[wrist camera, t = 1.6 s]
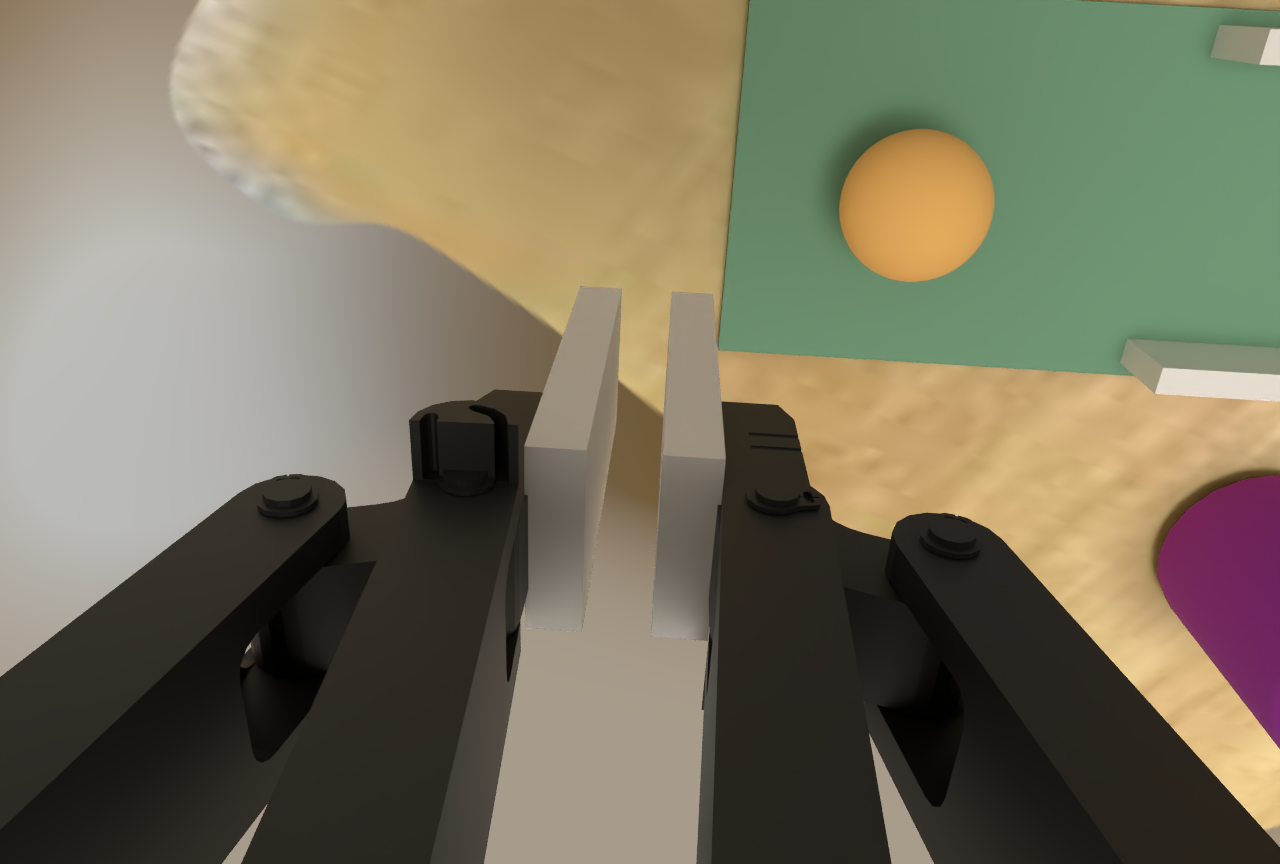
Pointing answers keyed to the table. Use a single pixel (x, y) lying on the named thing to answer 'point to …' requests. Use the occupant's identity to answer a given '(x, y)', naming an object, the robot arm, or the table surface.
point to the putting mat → (1010, 180)
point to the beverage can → (1232, 588)
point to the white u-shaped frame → (1205, 363)
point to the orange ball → (916, 205)
